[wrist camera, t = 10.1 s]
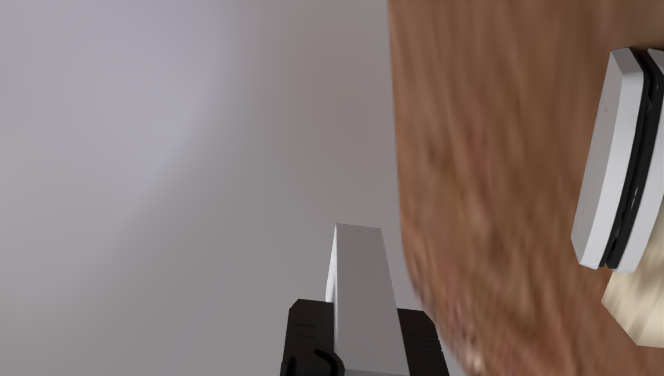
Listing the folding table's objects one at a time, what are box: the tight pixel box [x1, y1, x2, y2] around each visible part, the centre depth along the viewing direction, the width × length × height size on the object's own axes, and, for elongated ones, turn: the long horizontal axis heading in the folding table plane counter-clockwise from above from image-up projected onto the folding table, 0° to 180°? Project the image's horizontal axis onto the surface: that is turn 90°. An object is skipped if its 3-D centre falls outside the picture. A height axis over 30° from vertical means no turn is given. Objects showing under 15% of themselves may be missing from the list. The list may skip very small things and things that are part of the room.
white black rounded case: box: [571, 48, 664, 273], centre depth 37 cm, size 17×5×10 cm, turn 0°
